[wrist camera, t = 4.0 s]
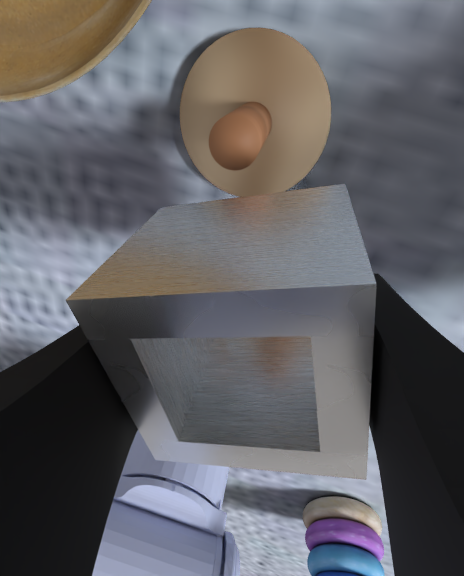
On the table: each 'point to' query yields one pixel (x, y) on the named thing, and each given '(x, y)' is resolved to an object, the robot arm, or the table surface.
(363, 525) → the stacking toy
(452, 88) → the table surface
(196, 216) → the collar
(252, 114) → the post stand
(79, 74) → the plant saucer
